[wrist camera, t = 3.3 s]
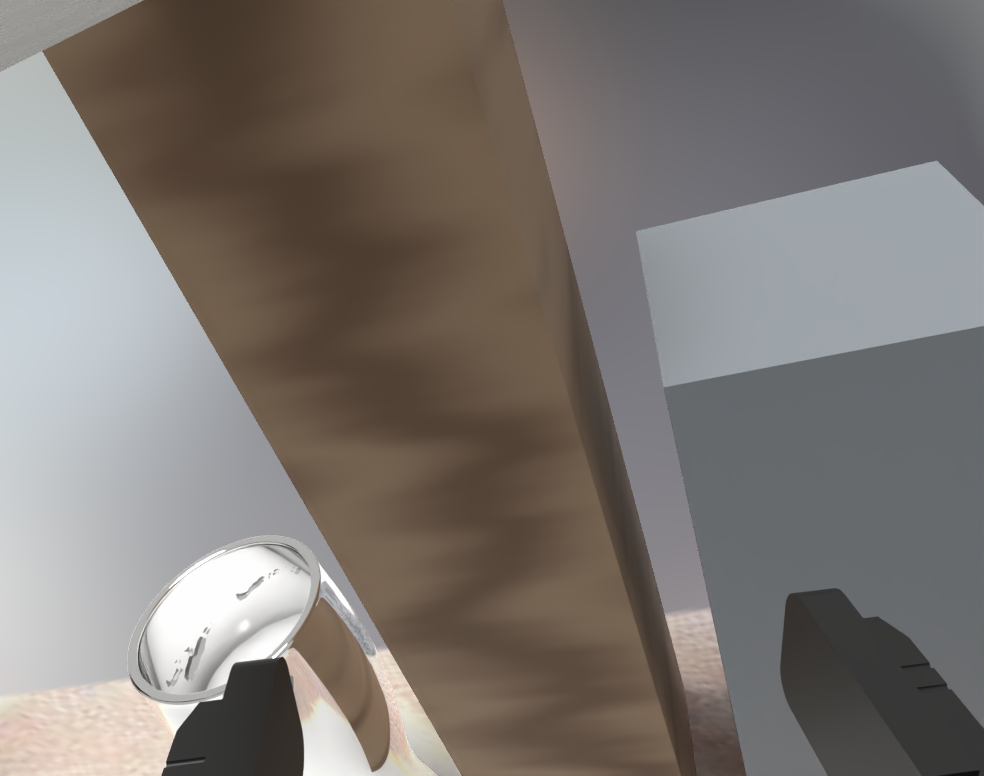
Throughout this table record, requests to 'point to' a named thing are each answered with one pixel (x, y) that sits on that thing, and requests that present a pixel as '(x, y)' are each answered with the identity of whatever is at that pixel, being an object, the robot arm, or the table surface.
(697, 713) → the table surface
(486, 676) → the tall wooden post
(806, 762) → the grey tall block
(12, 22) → the blocky hammer
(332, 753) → the beer glass
